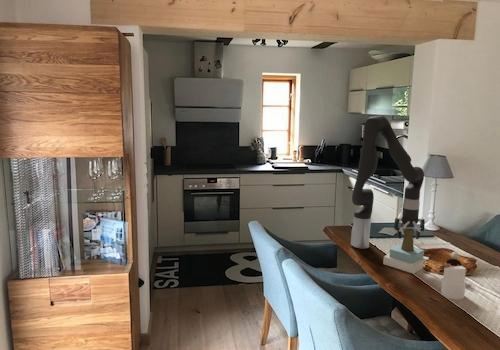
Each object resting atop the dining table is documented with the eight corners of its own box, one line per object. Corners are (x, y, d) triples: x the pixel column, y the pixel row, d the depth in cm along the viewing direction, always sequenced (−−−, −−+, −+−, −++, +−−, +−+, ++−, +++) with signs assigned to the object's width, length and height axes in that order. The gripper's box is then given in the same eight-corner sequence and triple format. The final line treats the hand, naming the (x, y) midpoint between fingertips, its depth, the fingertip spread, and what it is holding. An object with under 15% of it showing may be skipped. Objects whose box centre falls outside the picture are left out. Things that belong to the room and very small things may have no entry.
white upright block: (451, 300, 169) (454, 273, 167) (436, 291, 178) (438, 265, 175) (469, 298, 172) (472, 271, 169) (452, 288, 180) (455, 263, 178)
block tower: (383, 263, 207) (384, 248, 205) (398, 256, 217) (399, 241, 216) (413, 273, 195) (415, 258, 194) (428, 265, 206) (429, 250, 204)
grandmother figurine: (460, 277, 192) (463, 251, 190) (461, 280, 189) (464, 254, 186) (442, 274, 195) (445, 249, 192) (443, 277, 191) (446, 252, 189)
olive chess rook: (398, 247, 207) (400, 226, 205) (410, 247, 208) (411, 226, 206) (404, 251, 201) (406, 230, 200) (416, 251, 202) (418, 230, 200)
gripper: (398, 208, 197) (396, 240, 200) (428, 209, 197) (425, 241, 200) (394, 204, 205) (391, 235, 208) (422, 205, 204) (419, 236, 207)
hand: (408, 238), depth 204 cm, fingers open, 8 cm apart
